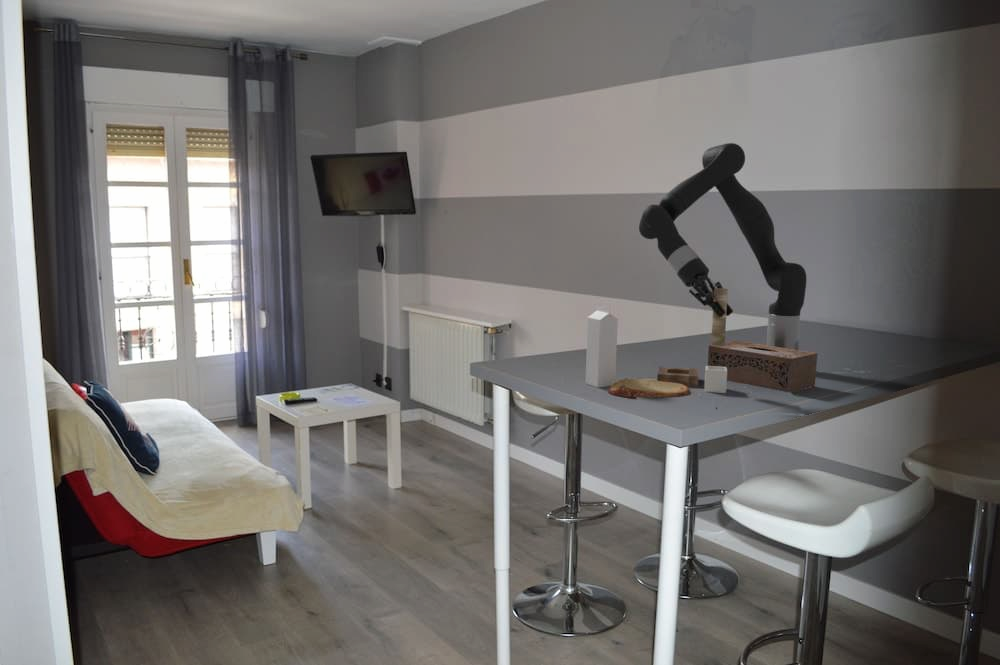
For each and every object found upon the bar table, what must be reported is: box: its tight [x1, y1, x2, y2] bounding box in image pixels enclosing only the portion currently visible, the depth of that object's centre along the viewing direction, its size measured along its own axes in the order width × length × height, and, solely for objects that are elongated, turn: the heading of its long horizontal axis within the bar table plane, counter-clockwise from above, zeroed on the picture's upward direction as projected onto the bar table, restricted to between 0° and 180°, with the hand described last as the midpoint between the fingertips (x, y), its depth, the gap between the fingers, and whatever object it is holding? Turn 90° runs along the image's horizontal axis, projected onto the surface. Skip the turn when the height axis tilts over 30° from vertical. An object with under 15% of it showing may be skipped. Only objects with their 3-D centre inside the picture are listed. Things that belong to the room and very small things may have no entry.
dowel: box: [710, 287, 729, 346], centre depth 212 cm, size 4×4×15 cm
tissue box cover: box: [707, 340, 818, 394], centre depth 228 cm, size 26×14×10 cm, turn 42°
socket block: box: [656, 366, 699, 388], centre depth 225 cm, size 11×11×4 cm
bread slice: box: [607, 377, 691, 400], centre depth 212 cm, size 18×18×4 cm
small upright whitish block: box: [704, 365, 728, 394], centre depth 215 cm, size 6×6×7 cm
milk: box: [585, 305, 618, 388], centre depth 220 cm, size 6×6×22 cm
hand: (726, 314), depth 210 cm, fingers closed on dowel, 3 cm apart
